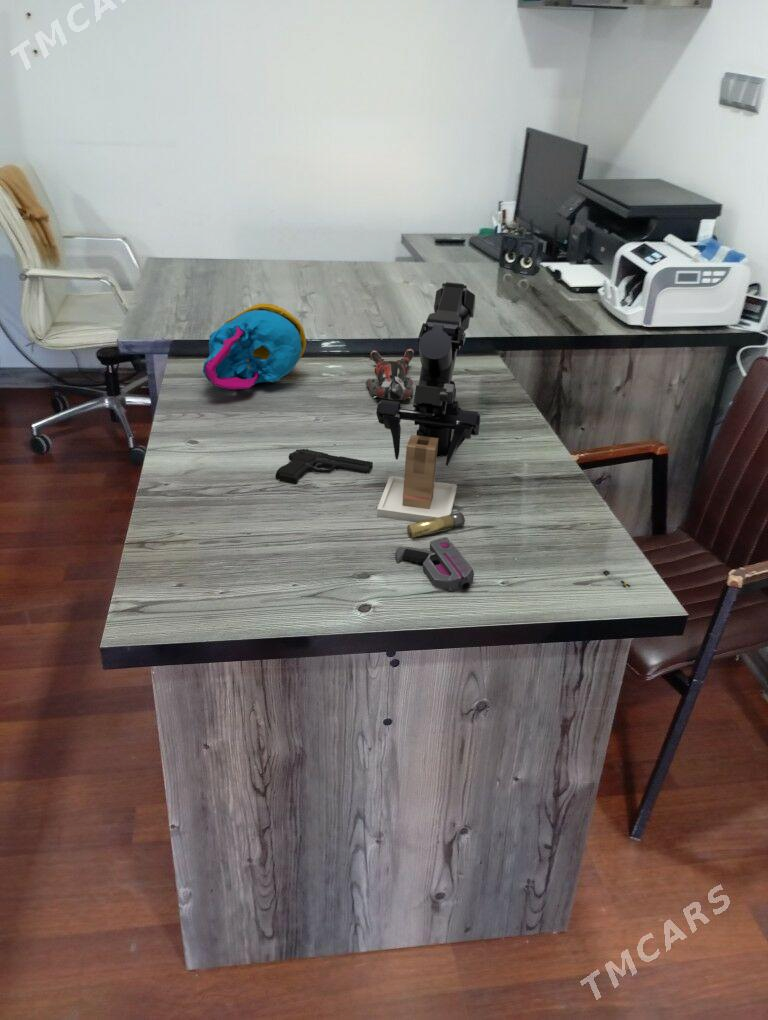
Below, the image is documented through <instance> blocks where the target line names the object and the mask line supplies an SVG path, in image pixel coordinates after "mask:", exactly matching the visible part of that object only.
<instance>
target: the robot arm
mask: <svg viewBox="0 0 768 1020" xmlns="http://www.w3.org/2000/svg"><path fill="white" fill-rule="evenodd" d="M434 297H435V298H434V303H433V305H434V306H433V310H434V312H432V313H429V314H428V316H427V319H426V322H423V323H422V325H421V328H420V331H419V334H418V336H417V344H418V349H419V350H418V351H419V359H420V363H421V367H420V373H419V374H420V375H419V378H418V385H417V384H415V390H414V391H415V392H414V395H413V402H412V407H413V408H414V409H406V408H402V406H401V402H400V401H394V400H387V399H385V400H384V399H381V400H380V401H379V402H378V404H377V407H376V411H375V412H376V416H377V420H378V423H379V424H381V425H384V428H385V429H387V430H390V433H391V437H392V444H393V450H394V458H395V460H396V461H397V460H398V459H399V456H400V448H401V447H400V445H401V432H402V431H401V430H402V428H401V422H402V421H401V420H404V421H411V422H414V425H415V426H418V429H417V430H416V435H418V436H426V437H433V438H439V439H438V449H437V458H438V457H439V458H440V457H443V456H446V461H445V467H448V466H449V465H450V463H451V462H452V460H453V458H454V456H455V454H456V453H457V451H458V449H459V448H460V446H461V445H462V444H463V442H464V441H465V440H470V439H471V438H472V436H479V434H480V427H481V426H480V425H481V414H480V412H479V411H476V410H475V411H474V410H468V409H461V406H460V404H459V400H457V389H456V384H455V381H454V380H453V376H454V371H455V364H456V358H457V353H458V350H460V349H461V347H464V345H465V342H466V337H467V336H466V332H465V331H466V330H467V329H469V328H470V327H469V326H470V322H471V319H473V318H474V315H475V309H476V295H475V294H474V293H473V292H472V291H470V290H469V289H468V285H465V284H464V283H460V282H459V283H458V282H450V281H448V282H447V281H446V282H443V283H442V285H441V288H439V289H437V290H436V291H435V296H434Z"/></svg>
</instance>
